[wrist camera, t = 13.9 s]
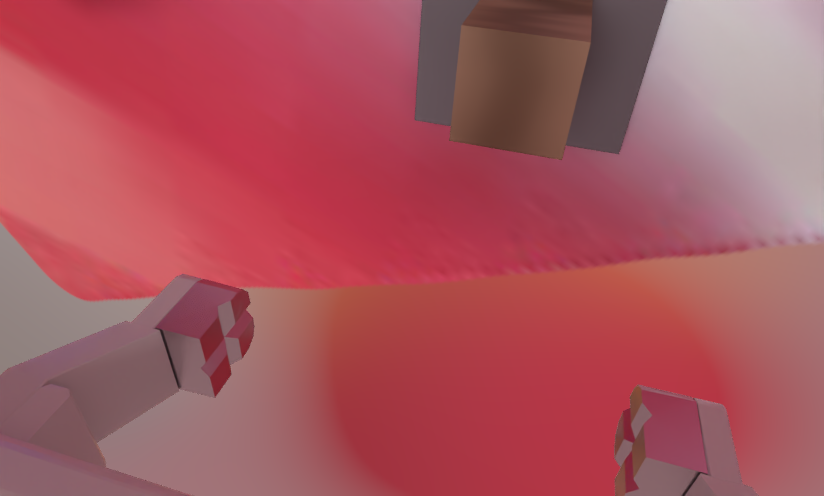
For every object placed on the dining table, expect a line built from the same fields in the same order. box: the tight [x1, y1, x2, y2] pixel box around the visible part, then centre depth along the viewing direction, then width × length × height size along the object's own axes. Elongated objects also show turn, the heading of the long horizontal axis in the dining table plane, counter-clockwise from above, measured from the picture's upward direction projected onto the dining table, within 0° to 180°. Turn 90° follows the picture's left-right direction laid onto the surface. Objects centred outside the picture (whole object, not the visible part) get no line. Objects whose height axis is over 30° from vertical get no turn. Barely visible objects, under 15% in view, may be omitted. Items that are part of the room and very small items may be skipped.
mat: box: [415, 0, 667, 154], centre depth 29 cm, size 12×11×1 cm
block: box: [449, 0, 593, 160], centre depth 26 cm, size 5×5×8 cm
